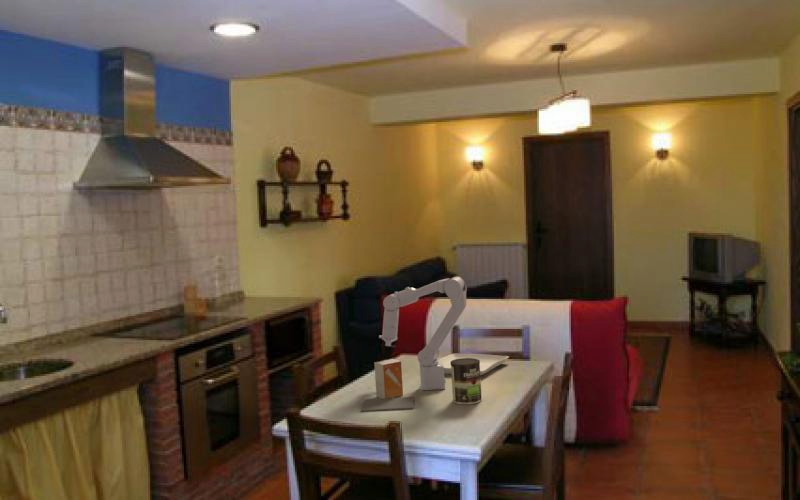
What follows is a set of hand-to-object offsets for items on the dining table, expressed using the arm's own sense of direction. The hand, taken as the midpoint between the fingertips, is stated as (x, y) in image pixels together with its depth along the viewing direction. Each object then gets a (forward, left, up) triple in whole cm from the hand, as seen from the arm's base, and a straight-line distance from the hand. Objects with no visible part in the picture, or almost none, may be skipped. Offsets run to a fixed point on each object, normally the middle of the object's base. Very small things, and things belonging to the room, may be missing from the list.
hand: (387, 359), depth 279 cm
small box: (-1, +13, -11) cm, 17 cm away
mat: (-1, +24, -11) cm, 27 cm away
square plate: (-31, -23, -11) cm, 40 cm away
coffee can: (-29, +24, -11) cm, 39 cm away
